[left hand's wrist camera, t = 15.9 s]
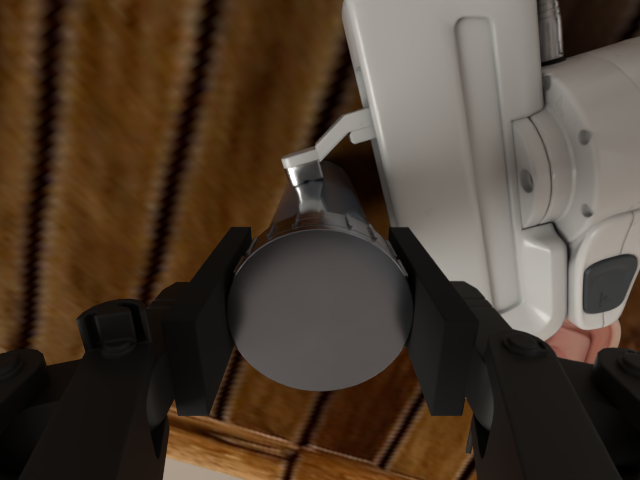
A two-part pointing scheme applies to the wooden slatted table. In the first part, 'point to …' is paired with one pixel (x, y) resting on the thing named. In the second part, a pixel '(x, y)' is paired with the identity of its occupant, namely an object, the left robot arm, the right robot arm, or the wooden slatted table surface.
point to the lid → (320, 302)
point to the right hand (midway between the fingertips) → (304, 226)
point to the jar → (322, 196)
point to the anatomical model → (583, 341)
